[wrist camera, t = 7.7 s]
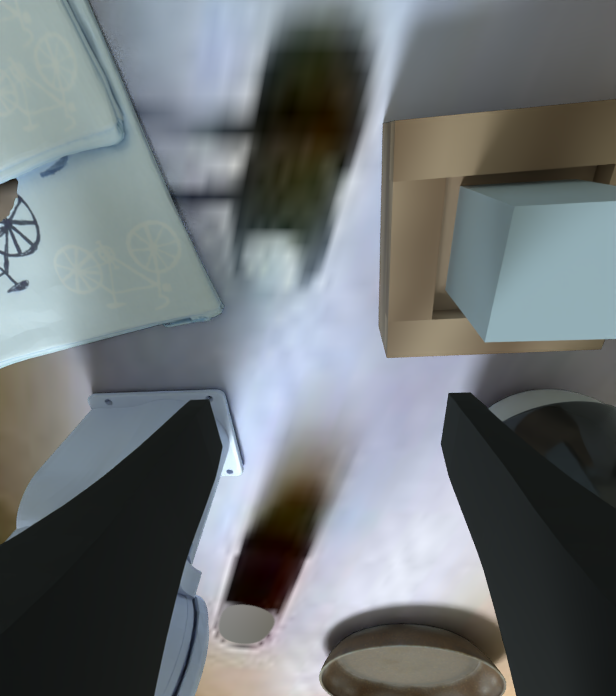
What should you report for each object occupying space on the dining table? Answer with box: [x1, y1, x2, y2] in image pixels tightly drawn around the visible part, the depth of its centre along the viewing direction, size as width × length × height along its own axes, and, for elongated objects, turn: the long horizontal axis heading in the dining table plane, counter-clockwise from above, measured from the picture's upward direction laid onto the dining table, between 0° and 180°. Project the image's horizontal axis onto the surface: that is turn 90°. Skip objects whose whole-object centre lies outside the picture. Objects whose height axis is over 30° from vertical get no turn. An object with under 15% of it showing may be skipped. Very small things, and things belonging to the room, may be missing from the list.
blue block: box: [445, 179, 616, 342], centre depth 13 cm, size 4×4×5 cm
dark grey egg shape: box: [488, 389, 616, 508], centre depth 17 cm, size 10×10×15 cm
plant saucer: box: [319, 624, 506, 696], centre depth 42 cm, size 21×21×3 cm
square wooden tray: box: [379, 99, 616, 358], centre depth 16 cm, size 10×10×4 cm
